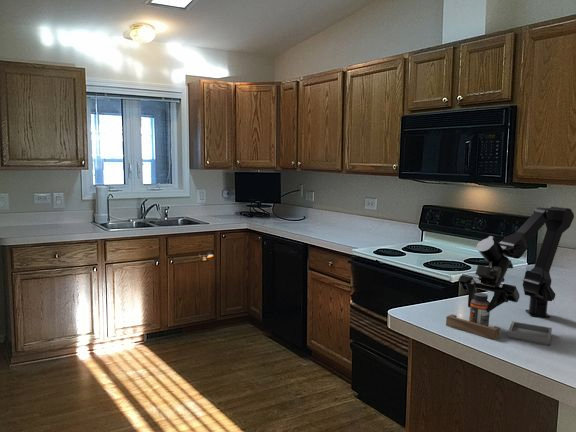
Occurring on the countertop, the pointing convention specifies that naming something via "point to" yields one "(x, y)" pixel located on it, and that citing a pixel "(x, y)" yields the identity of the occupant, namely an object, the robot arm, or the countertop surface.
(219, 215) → the countertop surface
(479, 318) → the supplement bottle
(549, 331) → the grey square tray
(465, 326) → the wooden dock
